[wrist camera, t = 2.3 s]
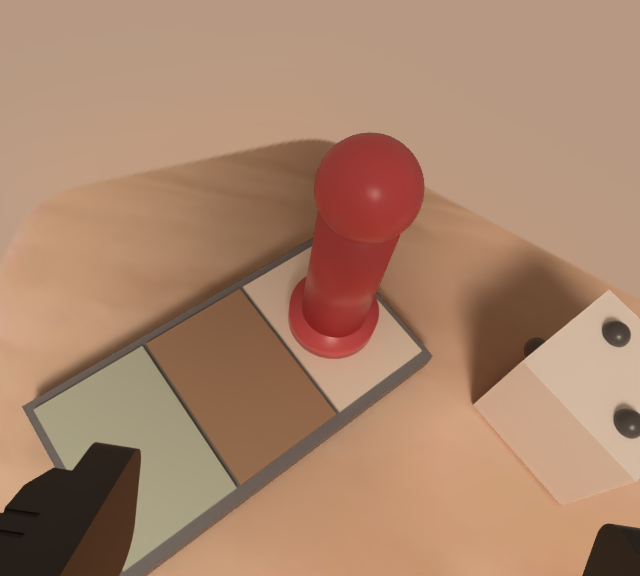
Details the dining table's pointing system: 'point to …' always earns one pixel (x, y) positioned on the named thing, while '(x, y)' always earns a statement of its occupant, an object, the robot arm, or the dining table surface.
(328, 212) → the pawn
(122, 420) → the board
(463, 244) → the dining table surface
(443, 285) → the dining table surface
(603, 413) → the die
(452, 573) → the dining table surface
